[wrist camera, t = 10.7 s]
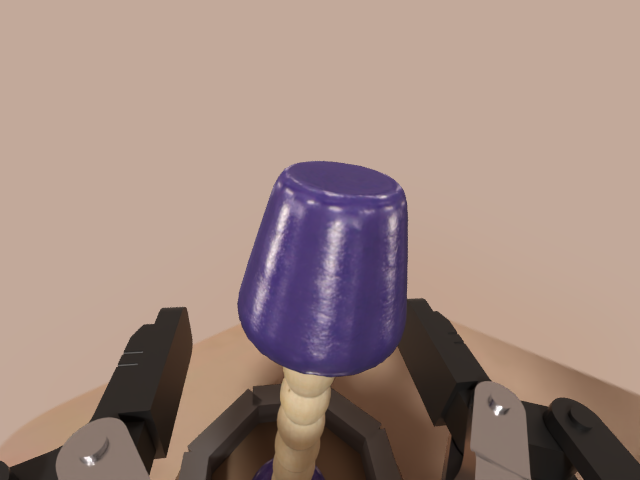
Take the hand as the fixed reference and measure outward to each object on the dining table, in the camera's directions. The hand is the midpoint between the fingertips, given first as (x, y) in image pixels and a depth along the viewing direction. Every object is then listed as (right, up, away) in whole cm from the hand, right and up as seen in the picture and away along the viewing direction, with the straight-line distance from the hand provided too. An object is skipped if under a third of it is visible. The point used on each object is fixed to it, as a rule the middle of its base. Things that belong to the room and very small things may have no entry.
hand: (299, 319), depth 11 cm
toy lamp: (-1, -10, +4) cm, 11 cm away
